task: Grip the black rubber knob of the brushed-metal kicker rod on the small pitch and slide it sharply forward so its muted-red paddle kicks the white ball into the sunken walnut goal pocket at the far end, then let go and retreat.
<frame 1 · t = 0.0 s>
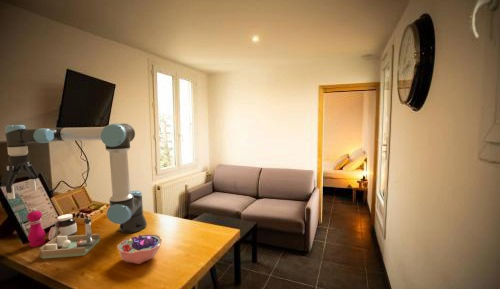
hand: (23, 194, 123), 28 cm above the table, fingers open, 13 cm apart
spread jar: (62, 237, 135), on the table
pepper mill: (37, 244, 127), on the table
kicker rod: (85, 231, 122), point 9 cm above the table, slide at 0.0 cm
pitch: (72, 248, 122), on the table
cell model: (140, 259, 112), on the table
ball: (66, 243, 121), point 3 cm above the table, touching pitch
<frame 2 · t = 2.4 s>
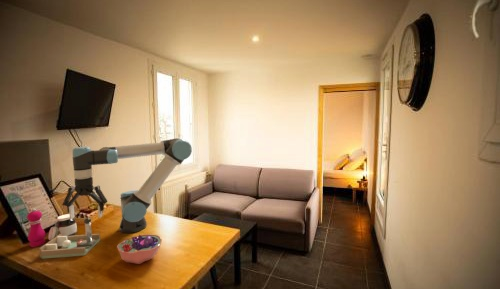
hand: (86, 217, 121), 16 cm above the table, fingers open, 13 cm apart
nothing on the table moved.
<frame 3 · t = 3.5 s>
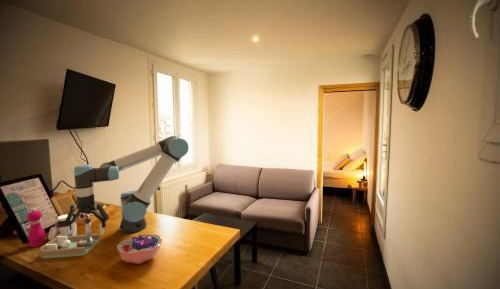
hand: (88, 234, 122), 7 cm above the table, fingers open, 13 cm apart
nothing on the table moved.
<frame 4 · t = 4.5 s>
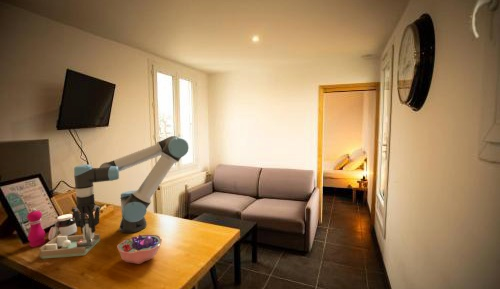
hand: (89, 238, 122), 5 cm above the table, fingers closed on kicker rod, 2 cm apart
kicker rod: (85, 231, 122), point 9 cm above the table, slide at 0.0 cm, touching gripper
everything else where it was.
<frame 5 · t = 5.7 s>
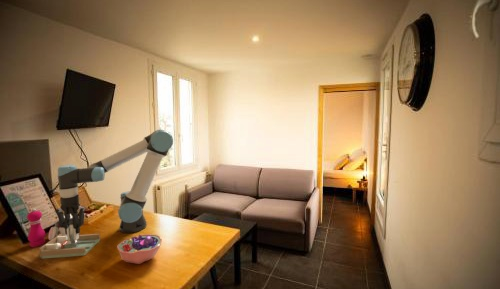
hand: (73, 239, 121), 5 cm above the table, fingers closed on kicker rod, 2 cm apart
kicker rod: (69, 232, 121), point 9 cm above the table, slide at 7.5 cm, touching gripper
ball: (56, 246, 121), point 2 cm above the table, tilted 159°
everything else where it was.
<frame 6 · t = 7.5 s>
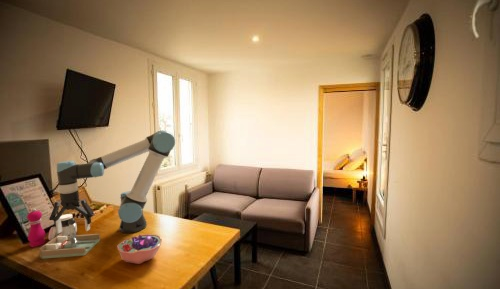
hand: (74, 231, 121), 9 cm above the table, fingers open, 13 cm apart
kicker rod: (69, 232, 121), point 9 cm above the table, slide at 7.5 cm
ball: (58, 246, 121), point 2 cm above the table, tilted 139°
everything else where it was.
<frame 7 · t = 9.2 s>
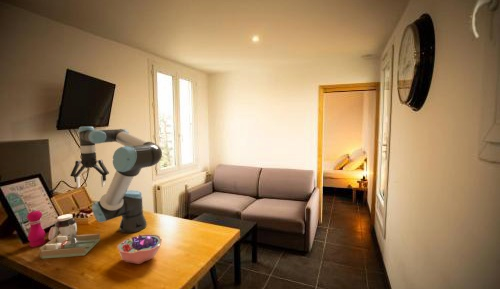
hand: (91, 186, 143), 26 cm above the table, fingers open, 13 cm apart
nothing on the table moved.
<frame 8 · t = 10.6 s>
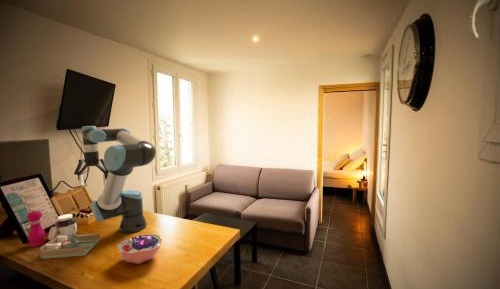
hand: (93, 184, 146), 27 cm above the table, fingers open, 13 cm apart
nothing on the table moved.
at the end: ball 0.3 cm from the target spot on the pitch, point 1.8 cm above the pitch's base; kicker rod slide at 7.5 cm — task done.
